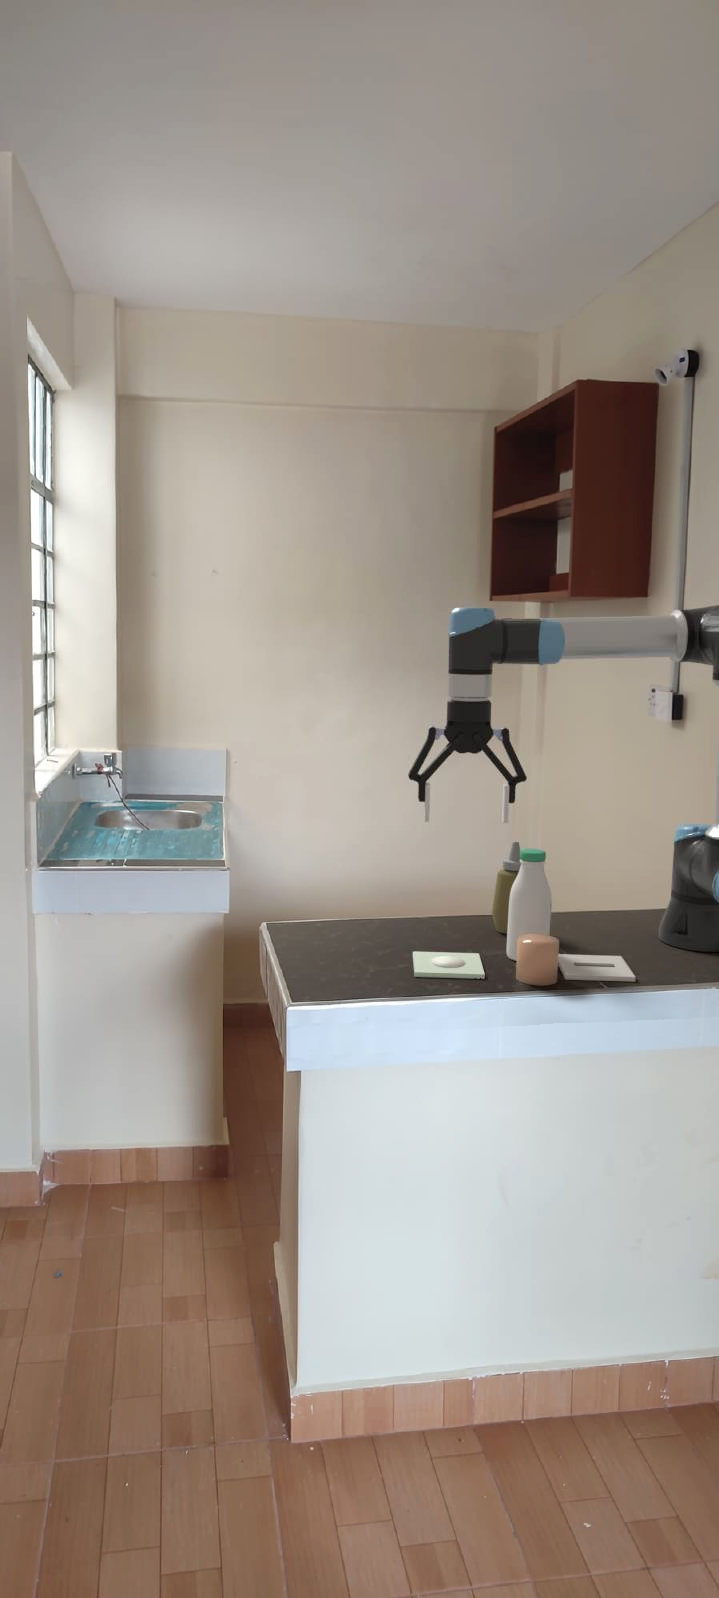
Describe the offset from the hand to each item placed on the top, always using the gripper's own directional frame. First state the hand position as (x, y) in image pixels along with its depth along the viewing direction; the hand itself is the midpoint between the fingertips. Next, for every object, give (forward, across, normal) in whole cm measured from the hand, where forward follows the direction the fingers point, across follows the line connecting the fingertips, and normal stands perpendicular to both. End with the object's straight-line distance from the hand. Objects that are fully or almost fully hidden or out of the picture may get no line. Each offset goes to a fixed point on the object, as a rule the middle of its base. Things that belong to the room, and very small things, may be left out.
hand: (465, 821), depth 197 cm
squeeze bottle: (+26, -12, -23) cm, 37 cm away
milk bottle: (+26, -12, -6) cm, 30 cm away
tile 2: (+26, -24, 0) cm, 35 cm away
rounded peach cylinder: (+26, -12, +6) cm, 30 cm away
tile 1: (+26, +2, +1) cm, 26 cm away
